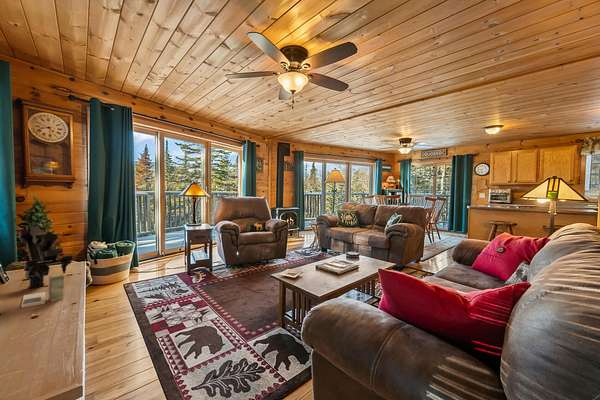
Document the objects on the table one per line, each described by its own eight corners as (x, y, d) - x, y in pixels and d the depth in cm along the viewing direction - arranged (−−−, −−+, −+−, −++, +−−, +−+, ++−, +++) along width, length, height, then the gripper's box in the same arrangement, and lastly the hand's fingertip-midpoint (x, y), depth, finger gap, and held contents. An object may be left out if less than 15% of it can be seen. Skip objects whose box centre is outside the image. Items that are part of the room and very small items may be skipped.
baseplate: (23, 297, 131) (24, 295, 131) (45, 293, 136) (45, 291, 136) (21, 308, 119) (21, 305, 119) (44, 303, 125) (44, 300, 125)
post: (48, 299, 130) (49, 276, 130) (59, 296, 134) (60, 273, 134) (51, 301, 128) (52, 277, 128) (63, 298, 132) (63, 275, 132)
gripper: (26, 246, 128) (32, 270, 122) (72, 241, 144) (79, 263, 138) (21, 258, 132) (26, 283, 126) (66, 252, 148) (73, 274, 142)
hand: (53, 275), depth 133 cm, fingers open, 9 cm apart
